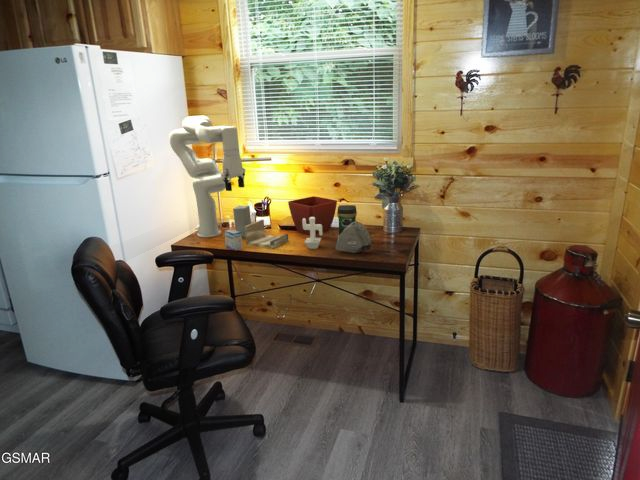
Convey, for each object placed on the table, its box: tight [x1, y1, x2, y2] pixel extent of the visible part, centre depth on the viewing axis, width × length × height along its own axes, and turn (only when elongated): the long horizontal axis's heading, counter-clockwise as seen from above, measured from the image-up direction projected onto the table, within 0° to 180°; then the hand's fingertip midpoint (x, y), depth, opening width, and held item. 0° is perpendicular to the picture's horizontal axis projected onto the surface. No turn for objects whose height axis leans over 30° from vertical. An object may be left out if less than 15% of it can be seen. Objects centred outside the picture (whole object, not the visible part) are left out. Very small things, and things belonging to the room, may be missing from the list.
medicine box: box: [224, 228, 243, 252], centre depth 227 cm, size 8×4×9 cm, turn 46°
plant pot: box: [287, 195, 338, 236], centre depth 249 cm, size 19×19×17 cm
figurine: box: [302, 217, 324, 250], centre depth 223 cm, size 7×9×15 cm
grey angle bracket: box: [245, 219, 289, 249], centre depth 234 cm, size 16×14×10 cm
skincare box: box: [232, 205, 252, 239], centre depth 246 cm, size 8×7×16 cm
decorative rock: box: [335, 220, 372, 254], centre depth 214 cm, size 16×7×15 cm, turn 74°
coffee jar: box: [336, 204, 358, 238], centre depth 230 cm, size 10×8×19 cm
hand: (235, 188), depth 225 cm, fingers open, 9 cm apart
